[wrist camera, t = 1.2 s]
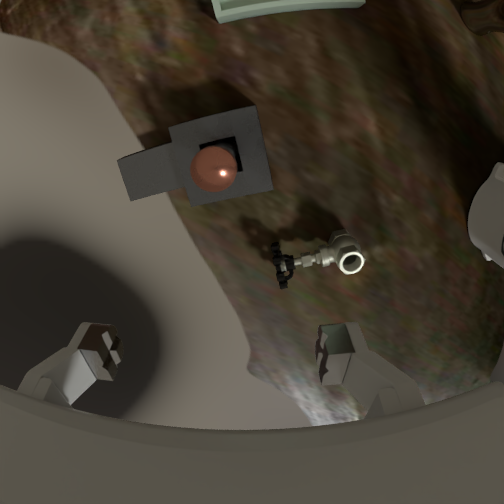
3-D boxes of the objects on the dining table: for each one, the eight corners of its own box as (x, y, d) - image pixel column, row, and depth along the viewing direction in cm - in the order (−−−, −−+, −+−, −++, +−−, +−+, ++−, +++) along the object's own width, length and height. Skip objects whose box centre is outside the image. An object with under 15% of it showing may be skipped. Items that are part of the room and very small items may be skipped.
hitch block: (255, 104, 33) (255, 105, 29) (271, 178, 38) (273, 189, 34) (120, 143, 36) (103, 150, 31) (141, 208, 40) (128, 222, 36)
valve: (351, 216, 40) (269, 234, 42) (365, 237, 35) (271, 258, 36) (355, 255, 44) (279, 272, 45) (367, 279, 38) (282, 299, 40)
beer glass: (451, 11, 23) (516, -4, 10) (467, -7, 20) (527, -22, 7) (479, 45, 25) (546, 45, 12) (493, 26, 22) (556, 23, 9)
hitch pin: (238, 130, 35) (230, 142, 25) (246, 162, 37) (241, 186, 28) (205, 138, 36) (184, 153, 26) (213, 169, 38) (197, 196, 28)
